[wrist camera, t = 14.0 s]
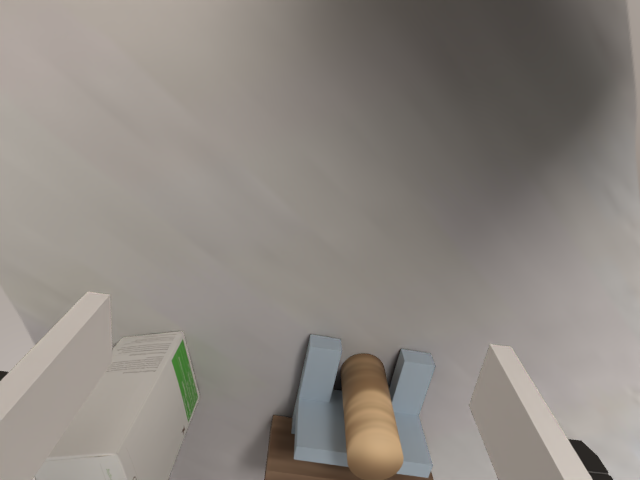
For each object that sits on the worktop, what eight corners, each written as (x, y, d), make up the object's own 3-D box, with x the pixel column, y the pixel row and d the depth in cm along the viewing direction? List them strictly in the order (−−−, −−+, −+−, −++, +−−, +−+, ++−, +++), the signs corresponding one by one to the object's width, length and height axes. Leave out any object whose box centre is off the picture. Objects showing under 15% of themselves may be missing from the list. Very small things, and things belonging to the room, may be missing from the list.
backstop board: (273, 415, 49) (266, 470, 42) (421, 436, 50) (437, 493, 43) (270, 429, 49) (263, 486, 43) (416, 450, 51) (431, 508, 44)
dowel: (345, 350, 46) (354, 434, 36) (389, 357, 46) (409, 442, 36) (336, 386, 47) (341, 476, 37) (378, 392, 48) (395, 484, 38)
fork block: (310, 334, 45) (309, 389, 37) (430, 353, 46) (452, 411, 38) (292, 419, 49) (287, 484, 41) (403, 435, 50) (419, 502, 42)
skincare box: (201, 396, 48) (151, 544, 33) (138, 402, 48) (61, 552, 33) (183, 326, 45) (119, 456, 30) (115, 333, 45) (20, 465, 30)
